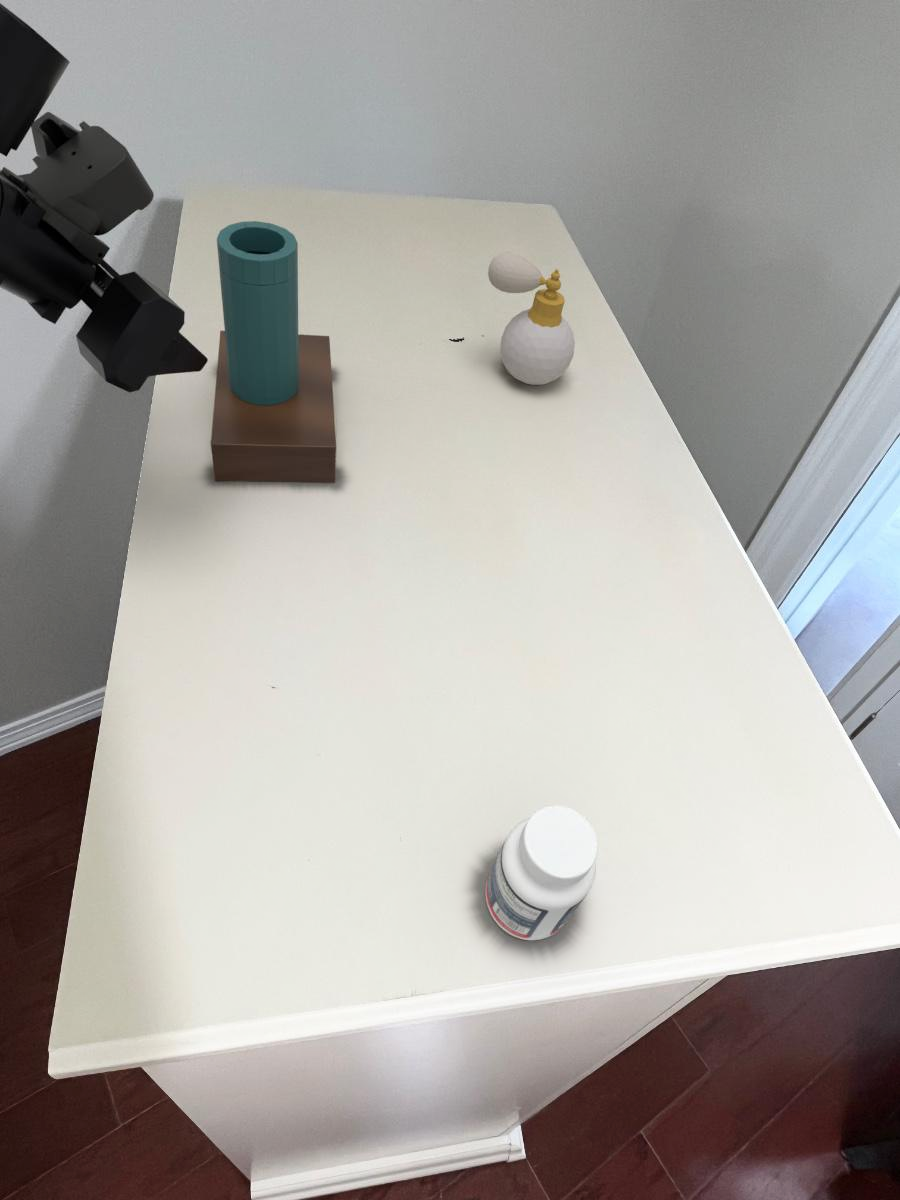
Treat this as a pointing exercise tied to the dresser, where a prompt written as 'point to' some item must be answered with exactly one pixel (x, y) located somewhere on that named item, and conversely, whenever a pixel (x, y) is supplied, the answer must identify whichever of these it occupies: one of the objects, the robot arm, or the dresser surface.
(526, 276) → the perfume bottle
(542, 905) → the pill bottle
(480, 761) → the dresser surface
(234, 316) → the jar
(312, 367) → the brown wooden pedestal
